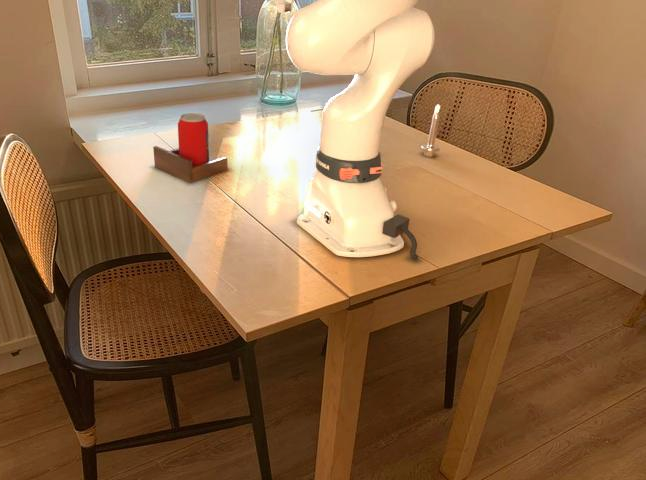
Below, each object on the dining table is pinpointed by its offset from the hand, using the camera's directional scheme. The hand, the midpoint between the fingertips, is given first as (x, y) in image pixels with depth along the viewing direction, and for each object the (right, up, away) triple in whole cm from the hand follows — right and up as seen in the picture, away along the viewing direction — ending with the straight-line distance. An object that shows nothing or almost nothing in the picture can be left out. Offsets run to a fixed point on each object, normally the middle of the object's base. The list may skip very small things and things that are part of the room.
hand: (284, 12), depth 125 cm
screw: (+37, -25, +25) cm, 52 cm away
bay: (-21, -31, +11) cm, 39 cm away
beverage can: (-21, -31, +11) cm, 39 cm away
